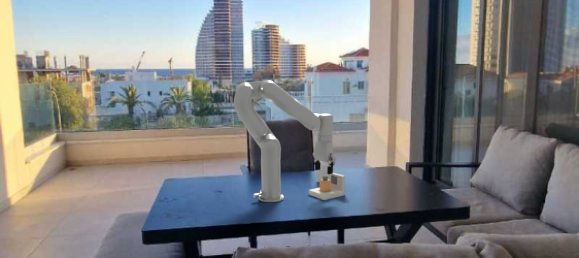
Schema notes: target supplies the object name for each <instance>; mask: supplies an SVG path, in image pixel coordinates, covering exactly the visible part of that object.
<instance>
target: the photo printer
mask: <svg viewBox="0 0 579 258" xmlns="http://www.w3.org/2000/svg"><path fill="white" fill-rule="evenodd" d="M320 162H321V165H320V170H316V173H315V174H316V182H317V183H320V180H321V179H323V176H327V167H328V164H327V162H322V161H320ZM330 163H331V162H330ZM333 173H335V165H334V166H333Z"/></svg>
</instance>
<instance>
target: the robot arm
mask: <svg viewBox="0 0 579 258" xmlns="http://www.w3.org/2000/svg"><path fill="white" fill-rule="evenodd" d="M262 98H265V99H266V100H267V101H269V102H270V103H272V104H273V105H274V106H276V107H277V108H278V109H280V110H281V111H282V112H283V113H285V114H286V115H288V116H290V117H291V118H293V119H295V120H296V121H298V123H300V124H302V125H303V126H304V127H305V128H306V129H308V130H309V131H317V133H316V134H317V135H316V137H317V138H316V141H315V147H314V151H313V152H312V156H313V157H312V158H313V160H314V161H313V162H314V171H317V170H320V165H321V162H320V161H322V162H327V164H328V167H327V174H333V166H334V167H335V164H336V163H337V157H336V156H335V155H334V143H333V133H334V132H333V129H334V126H333V125H334V115H332V114H330V113H314V112H313V111H311V110H310V109H309V108H308V107H306V106H305V105H304V104H302V103H301V102H300V101H299V100H298V99H297V98H295V97H294V96H293V95H291V93H288V92H287V91H286V90H284V89H283V88H282V87H281V86H280V85H278V84H277V83H275V82H274V81H272V80H269V79H268V80H266V79H265V80H259V81H258V80H257V81H247V82H241V83H239V84H237V86H236V88H235V94H234V97H233V107H234V111H235V114H236V115H237V116H238V118H239V119H240V121H241V122H242V124H243V125H244V127H245V128H246V130H247V133H249V135H250V136H251V137H252V139H253V140H254V142H255V143H256V144H257V146H258V147H259V148H260V153H261V155H260V169H261V170H260V171H261V172H260V173H261V189H260V190H259V192H258V193H253V194H252V196H253V199H256V198H258V200H259V201H261V202H263V203H278V202H281V201H283V200H284V199H285V196H284V194H282V185H281V184H282V183H281V180H282V179H281V178H282V177H281V153H282V152H281V151H282V147H281V143H280V141H279V139H278V138H277V137H276V136H275V135H274V133H273V132H272V131H271V129H270V128H269V126H268V125H267V123H266V121H265V120H264V119H263V118H262V117H261V115H260V114H259V113H258V112H257V110H256V109H255V107H254V105H253V103H252V101H253V99H254V100H255V99H262ZM330 162H331V163H330Z"/></svg>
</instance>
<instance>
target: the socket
mask: <svg viewBox="0 0 579 258" xmlns="http://www.w3.org/2000/svg"><path fill="white" fill-rule="evenodd" d="M327 176H328V179H329V180H331V191H330V192H325V193H324V192H321V191H320V187H316V188H312V189H308V195H309V196H312V197H315V198H317V199H319V200H323V201H326V200H331V199H334V198H340V197H343V196H345V195H346V176H345V175H344V174H340V173H336V172H334V173H333V174H327Z"/></svg>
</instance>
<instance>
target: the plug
mask: <svg viewBox="0 0 579 258" xmlns="http://www.w3.org/2000/svg"><path fill="white" fill-rule="evenodd" d="M319 188H320V191H321V192H324V193H325V192H330V191H331V180H329V179H328V176H323V179H321V180H320V182H319Z"/></svg>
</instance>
